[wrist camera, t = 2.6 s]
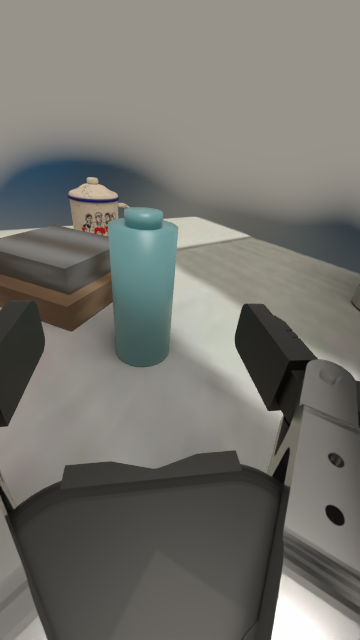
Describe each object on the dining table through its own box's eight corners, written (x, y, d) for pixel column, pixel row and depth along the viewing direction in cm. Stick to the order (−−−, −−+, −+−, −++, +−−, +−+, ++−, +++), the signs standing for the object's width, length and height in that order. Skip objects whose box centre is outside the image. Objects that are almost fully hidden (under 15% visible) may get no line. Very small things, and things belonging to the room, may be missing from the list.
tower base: (62, 257, 44) (56, 221, 41) (144, 278, 40) (145, 239, 37) (-34, 294, 31) (-54, 246, 28) (71, 331, 27) (62, 279, 24)
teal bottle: (133, 328, 29) (131, 201, 21) (176, 342, 27) (189, 211, 20) (105, 356, 24) (91, 210, 17) (154, 374, 23) (160, 223, 16)
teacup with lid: (81, 250, 48) (71, 180, 41) (69, 237, 54) (60, 173, 48) (140, 245, 53) (140, 182, 47) (124, 233, 60) (122, 176, 53)
